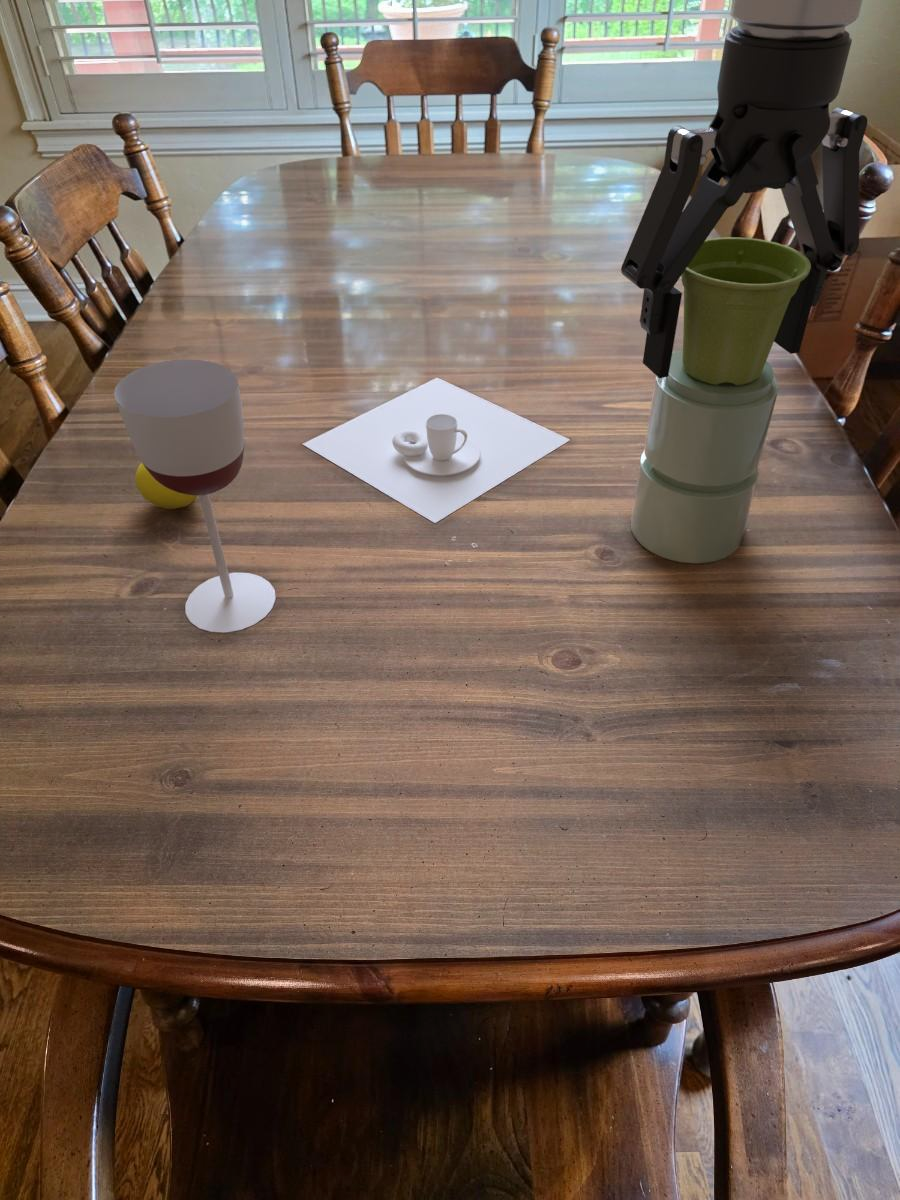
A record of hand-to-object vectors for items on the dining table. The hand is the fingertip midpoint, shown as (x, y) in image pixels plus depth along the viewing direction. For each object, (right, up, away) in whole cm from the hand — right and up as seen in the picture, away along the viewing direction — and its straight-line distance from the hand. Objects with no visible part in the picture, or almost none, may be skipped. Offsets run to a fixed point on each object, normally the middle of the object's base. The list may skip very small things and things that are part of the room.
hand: (721, 357), depth 68 cm
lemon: (-48, -10, +16) cm, 51 cm away
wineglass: (-40, -19, +5) cm, 45 cm away
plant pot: (0, -1, +1) cm, 1 cm away
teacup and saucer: (-23, -3, +23) cm, 33 cm away
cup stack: (0, -13, +11) cm, 17 cm away
